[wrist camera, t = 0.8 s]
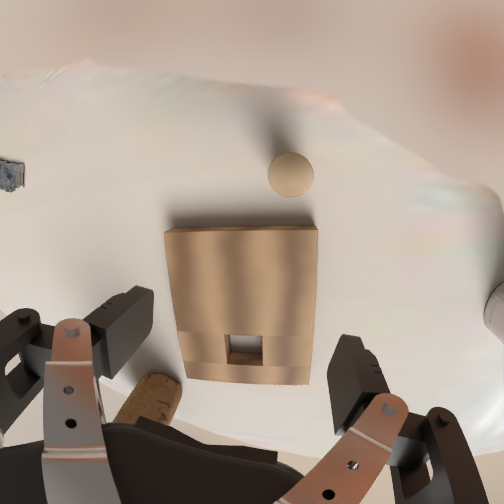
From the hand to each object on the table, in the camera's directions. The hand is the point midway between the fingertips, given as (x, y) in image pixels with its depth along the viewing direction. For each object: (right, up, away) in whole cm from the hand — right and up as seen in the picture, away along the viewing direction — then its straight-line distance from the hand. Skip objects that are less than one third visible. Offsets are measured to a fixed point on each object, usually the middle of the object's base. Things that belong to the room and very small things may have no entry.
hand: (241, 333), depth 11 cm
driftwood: (-51, +20, +27) cm, 61 cm away
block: (-16, -22, +33) cm, 42 cm away
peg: (+5, +12, +21) cm, 25 cm away
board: (-1, -4, +26) cm, 26 cm away
